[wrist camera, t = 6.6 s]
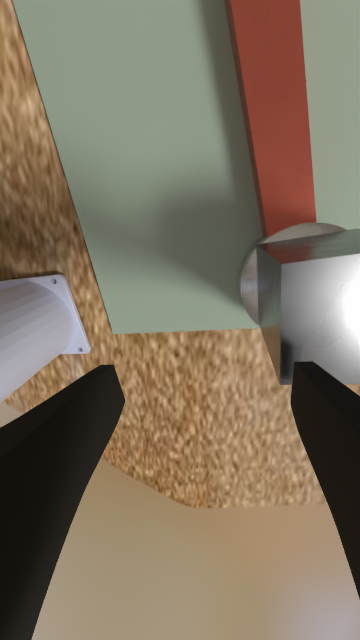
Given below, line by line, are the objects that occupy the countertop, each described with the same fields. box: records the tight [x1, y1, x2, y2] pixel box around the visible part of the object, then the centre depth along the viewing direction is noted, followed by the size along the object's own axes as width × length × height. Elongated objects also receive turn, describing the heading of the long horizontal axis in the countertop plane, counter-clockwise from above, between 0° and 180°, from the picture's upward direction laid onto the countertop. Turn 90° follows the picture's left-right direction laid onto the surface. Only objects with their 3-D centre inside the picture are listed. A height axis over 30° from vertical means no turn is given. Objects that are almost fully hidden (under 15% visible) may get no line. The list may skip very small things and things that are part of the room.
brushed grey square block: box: [256, 228, 360, 385], centre depth 10 cm, size 5×5×6 cm
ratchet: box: [224, 0, 346, 327], centre depth 11 cm, size 18×7×6 cm, turn 18°
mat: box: [12, 0, 360, 334], centre depth 13 cm, size 20×24×1 cm
